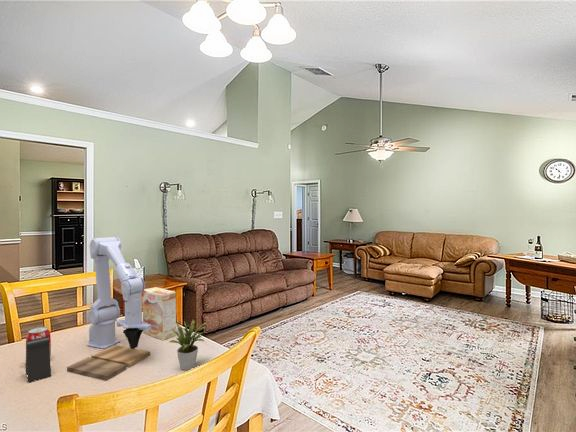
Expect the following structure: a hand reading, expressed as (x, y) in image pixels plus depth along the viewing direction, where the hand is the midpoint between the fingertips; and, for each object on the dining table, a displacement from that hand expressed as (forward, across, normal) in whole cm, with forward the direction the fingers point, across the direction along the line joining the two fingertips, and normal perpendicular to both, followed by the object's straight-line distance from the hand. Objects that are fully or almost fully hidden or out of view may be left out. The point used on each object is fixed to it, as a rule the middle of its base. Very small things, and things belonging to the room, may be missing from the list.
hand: (134, 347), depth 120 cm
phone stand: (+5, -22, -19) cm, 30 cm away
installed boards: (+4, -6, -10) cm, 13 cm away
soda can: (+5, -31, -13) cm, 34 cm away
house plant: (+5, +23, +2) cm, 24 cm away
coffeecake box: (+5, -8, +23) cm, 25 cm away
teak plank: (+4, -6, 0) cm, 7 cm away
